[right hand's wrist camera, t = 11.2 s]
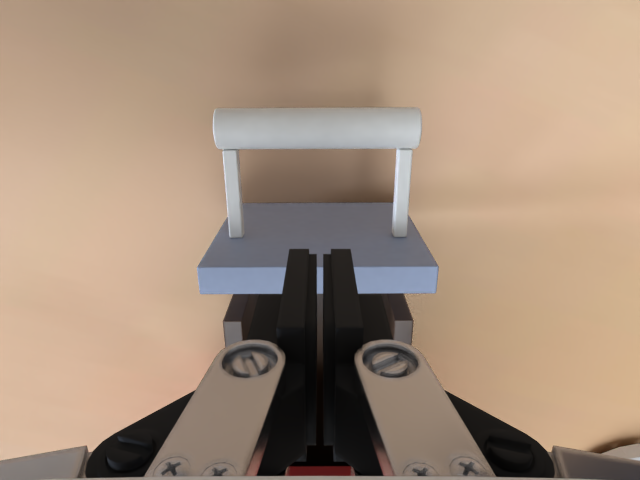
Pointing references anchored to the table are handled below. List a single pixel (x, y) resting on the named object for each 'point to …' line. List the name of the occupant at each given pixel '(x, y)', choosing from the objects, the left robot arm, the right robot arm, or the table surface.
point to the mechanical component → (626, 452)
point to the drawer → (317, 224)
